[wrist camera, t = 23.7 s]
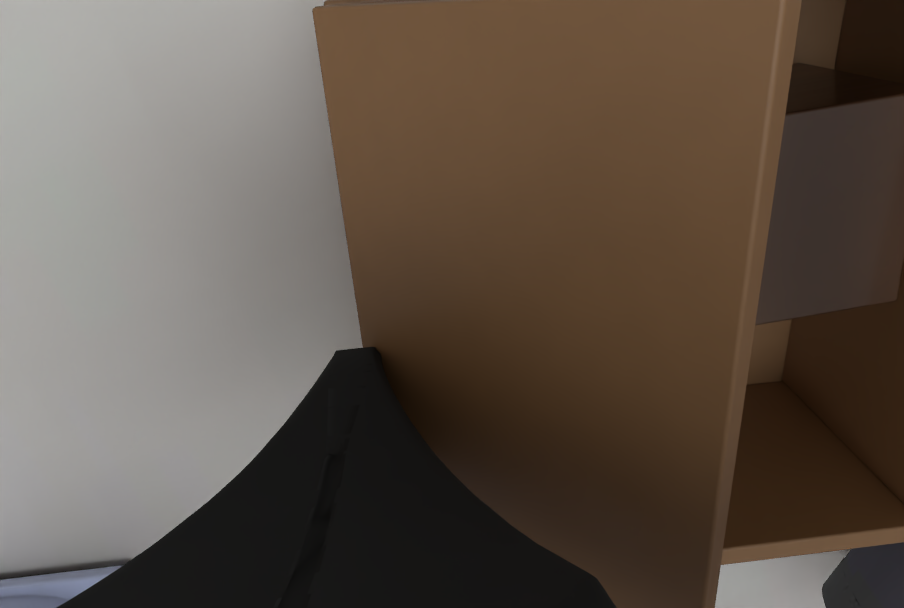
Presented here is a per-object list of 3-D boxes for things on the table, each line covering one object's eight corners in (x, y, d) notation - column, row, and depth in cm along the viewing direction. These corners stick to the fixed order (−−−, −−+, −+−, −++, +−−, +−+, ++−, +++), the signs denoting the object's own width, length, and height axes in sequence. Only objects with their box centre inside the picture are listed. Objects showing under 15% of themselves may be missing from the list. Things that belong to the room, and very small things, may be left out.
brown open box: (403, 426, 20) (408, 604, 15) (347, -8, 15) (322, 0, 9) (785, 383, 21) (939, 538, 15) (860, -50, 16) (1141, -67, 10)
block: (627, 259, 18) (694, 337, 14) (622, 91, 16) (697, 128, 12) (787, 231, 18) (898, 302, 14) (801, 61, 16) (934, 88, 12)
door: (419, 622, 14) (405, 635, 14) (334, 4, 9) (310, 7, 9) (683, 831, 10) (671, 854, 10) (806, -20, 5) (788, -16, 5)
